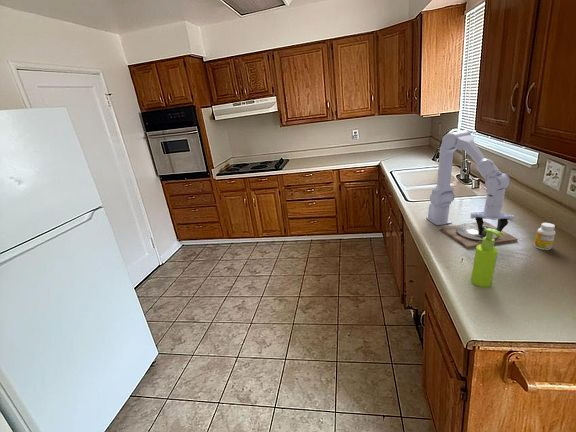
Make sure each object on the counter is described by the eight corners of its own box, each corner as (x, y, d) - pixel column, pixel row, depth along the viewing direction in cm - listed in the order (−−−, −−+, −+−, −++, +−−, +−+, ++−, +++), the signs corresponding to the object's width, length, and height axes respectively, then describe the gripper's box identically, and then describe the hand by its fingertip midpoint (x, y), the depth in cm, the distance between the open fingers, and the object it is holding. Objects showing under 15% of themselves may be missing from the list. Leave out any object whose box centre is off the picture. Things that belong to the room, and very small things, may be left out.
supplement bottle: (534, 242, 123) (539, 220, 119) (551, 245, 119) (557, 223, 116) (533, 248, 119) (538, 225, 115) (551, 251, 116) (557, 228, 112)
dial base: (440, 229, 140) (440, 226, 140) (484, 223, 142) (484, 220, 142) (467, 248, 123) (467, 245, 122) (517, 241, 125) (517, 238, 124)
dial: (450, 225, 140) (451, 214, 138) (487, 224, 138) (489, 213, 136) (465, 241, 126) (466, 229, 124) (506, 240, 124) (509, 228, 122)
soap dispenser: (486, 290, 98) (496, 236, 91) (467, 280, 104) (475, 228, 97) (498, 285, 100) (509, 231, 93) (478, 275, 106) (487, 224, 99)
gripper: (474, 206, 119) (469, 237, 125) (518, 208, 114) (511, 240, 119) (471, 200, 125) (467, 230, 131) (513, 202, 120) (507, 232, 125)
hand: (488, 234), depth 125 cm, fingers open, 6 cm apart
